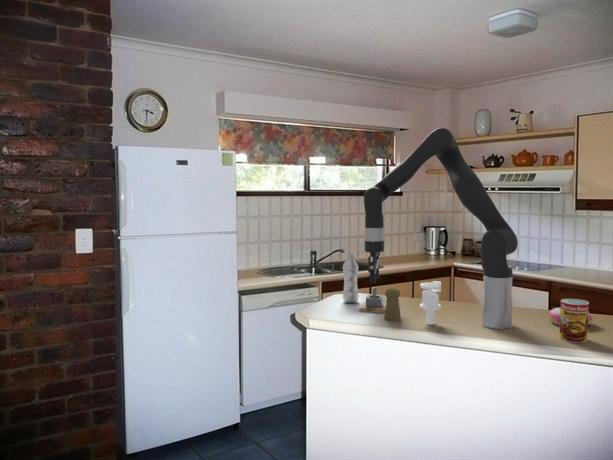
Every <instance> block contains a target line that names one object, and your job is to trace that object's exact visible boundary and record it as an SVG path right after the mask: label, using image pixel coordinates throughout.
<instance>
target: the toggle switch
mask: <svg viewBox="0 0 613 460" xmlns="http://www.w3.org/2000/svg"><path fill="white" fill-rule="evenodd" d="M377 290H378V289H377V287H372V292H371V293H372V294H371V295H372V298H377V293H378V291H377ZM385 308H386V303H384V302H383V306H382V308H374V307H366V301H364V302H363V303H362V304H361V305H360V307H359V308H358V309H359V312H370V313H384V314H385Z"/></svg>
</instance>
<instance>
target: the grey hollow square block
mask: <svg viewBox="0 0 613 460" xmlns="http://www.w3.org/2000/svg"><path fill="white" fill-rule="evenodd" d="M365 302H366V307H374V308H382V306H383V303H384V295H380V294H378V295H377V298H372V294H367V295H366V296H365Z"/></svg>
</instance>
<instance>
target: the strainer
mask: <svg viewBox="0 0 613 460" xmlns="http://www.w3.org/2000/svg"><path fill="white" fill-rule="evenodd" d="M419 287H420V288H421V289H423V291H421V292H422V293H421V295H422V296H421V297H422V299H421V303H420V304H419V309H421V310H424V311H425V324H426V325H429V326H432V325H433V326H434V325H435V323H436V321H435V320H436V319H435V318H436V316H435V315H436V312H435V311H439V310H441V309H442V305H441V304H440V303H439V301H440V299H439V298H440V293H441V292H442V281H438V280H437V281H436V280H432V282H431V281H430V282H428V281H427V282H421V283H420V284H419Z"/></svg>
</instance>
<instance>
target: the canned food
mask: <svg viewBox="0 0 613 460" xmlns="http://www.w3.org/2000/svg"><path fill="white" fill-rule="evenodd" d="M559 308H560V326H559V329H558V330H559V333H558V336H559V337H558V338H559V339H560V340H561V341H564V342H568V343H575V344H583V343H587V342H588V337H589V336H588V335H589V325H588V314H589V313H590V311H589V308H590V302H589V301H587V300H584V299H579V298H562V299H560V305H559Z"/></svg>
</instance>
